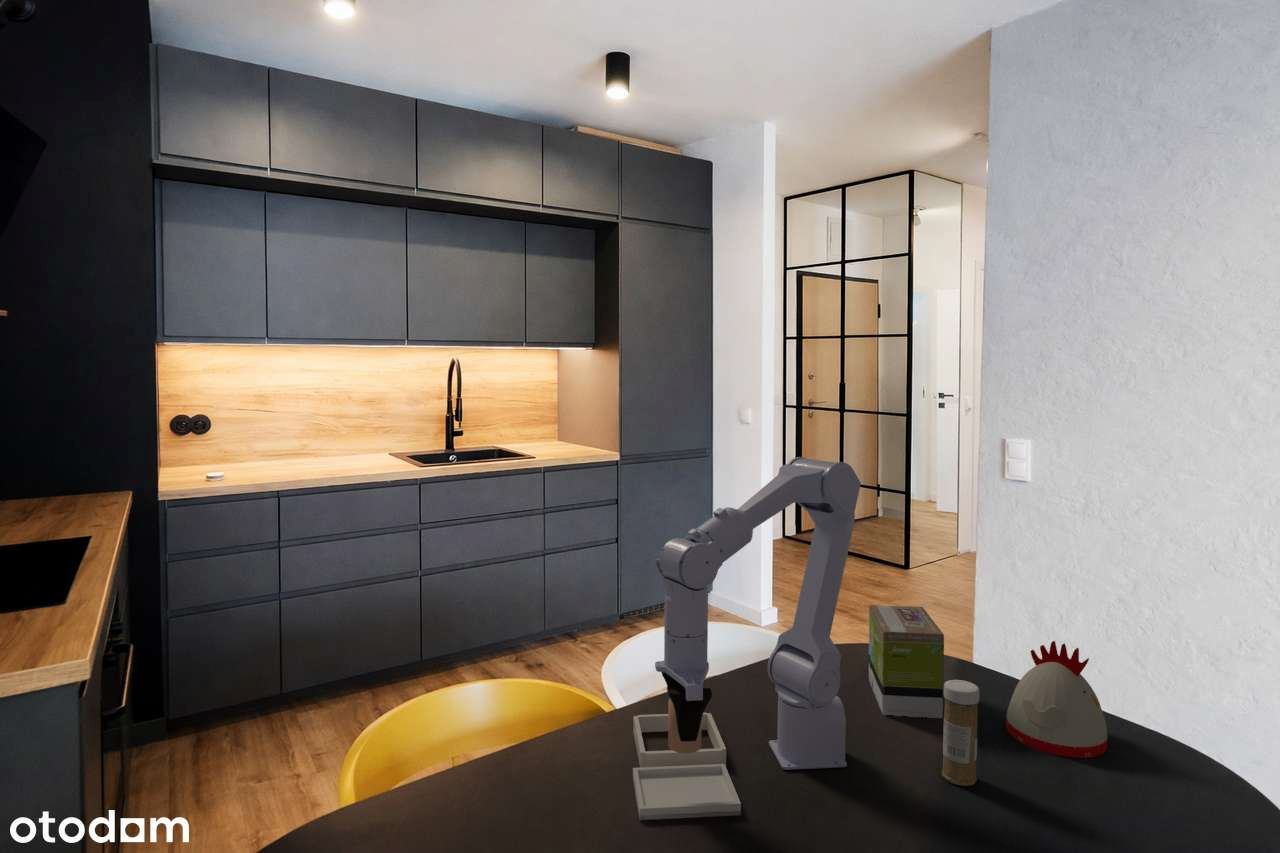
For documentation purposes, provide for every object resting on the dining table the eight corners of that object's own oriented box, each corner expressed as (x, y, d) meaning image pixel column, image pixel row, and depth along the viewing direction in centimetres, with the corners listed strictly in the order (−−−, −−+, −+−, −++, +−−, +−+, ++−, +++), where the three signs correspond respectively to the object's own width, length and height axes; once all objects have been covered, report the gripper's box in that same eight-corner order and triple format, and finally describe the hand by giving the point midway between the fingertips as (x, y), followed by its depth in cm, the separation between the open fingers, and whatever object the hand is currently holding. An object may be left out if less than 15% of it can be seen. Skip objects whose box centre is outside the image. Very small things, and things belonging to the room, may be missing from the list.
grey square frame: (710, 727, 119) (710, 712, 119) (726, 767, 107) (726, 750, 106) (633, 730, 118) (633, 715, 118) (640, 771, 105) (640, 754, 105)
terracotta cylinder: (698, 736, 101) (698, 693, 101) (703, 752, 97) (704, 707, 96) (666, 738, 101) (666, 694, 100) (670, 754, 96) (670, 709, 96)
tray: (724, 774, 105) (724, 763, 105) (740, 815, 95) (740, 803, 95) (632, 778, 104) (632, 767, 103) (639, 820, 94) (639, 808, 94)
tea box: (866, 680, 138) (868, 602, 137) (922, 684, 137) (924, 605, 136) (881, 716, 123) (883, 629, 123) (944, 720, 122) (946, 632, 121)
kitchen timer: (1088, 767, 107) (1092, 666, 106) (991, 734, 118) (994, 641, 117) (1119, 737, 116) (1123, 643, 116) (1027, 708, 127) (1029, 622, 126)
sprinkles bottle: (983, 781, 103) (986, 686, 103) (963, 791, 101) (967, 694, 100) (953, 767, 107) (956, 675, 106) (934, 776, 105) (937, 682, 104)
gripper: (649, 614, 105) (649, 708, 106) (662, 651, 90) (662, 759, 91) (699, 613, 105) (698, 706, 106) (720, 649, 91) (718, 757, 92)
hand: (685, 731), depth 99 cm, fingers closed on terracotta cylinder, 4 cm apart
